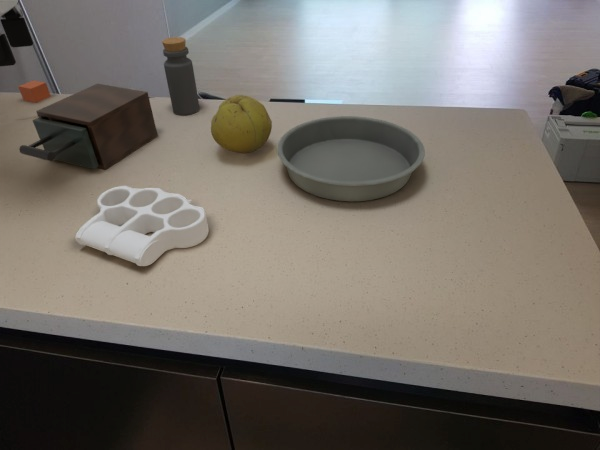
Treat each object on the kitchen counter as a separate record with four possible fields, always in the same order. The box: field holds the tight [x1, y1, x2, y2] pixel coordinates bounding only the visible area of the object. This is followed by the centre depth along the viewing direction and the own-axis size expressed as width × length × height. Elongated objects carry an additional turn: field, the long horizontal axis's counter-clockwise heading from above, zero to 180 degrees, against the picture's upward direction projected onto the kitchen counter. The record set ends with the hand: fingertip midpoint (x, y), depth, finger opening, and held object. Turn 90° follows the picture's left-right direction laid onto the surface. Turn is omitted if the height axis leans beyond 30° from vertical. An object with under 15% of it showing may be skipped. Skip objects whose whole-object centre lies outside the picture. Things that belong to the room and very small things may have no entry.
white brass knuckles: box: [74, 185, 210, 267], centre depth 65 cm, size 3×18×15 cm
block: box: [18, 79, 51, 104], centre depth 106 cm, size 4×4×4 cm
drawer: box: [19, 117, 99, 170], centre depth 82 cm, size 19×11×7 cm, turn 155°
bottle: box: [161, 36, 200, 116], centre depth 97 cm, size 6×6×15 cm
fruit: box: [210, 94, 273, 154], centre depth 83 cm, size 11×12×10 cm
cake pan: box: [276, 115, 426, 202], centre depth 78 cm, size 25×25×4 cm
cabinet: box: [36, 83, 159, 171], centre depth 85 cm, size 15×13×9 cm
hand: (13, 55), depth 67 cm, fingers open, 9 cm apart
